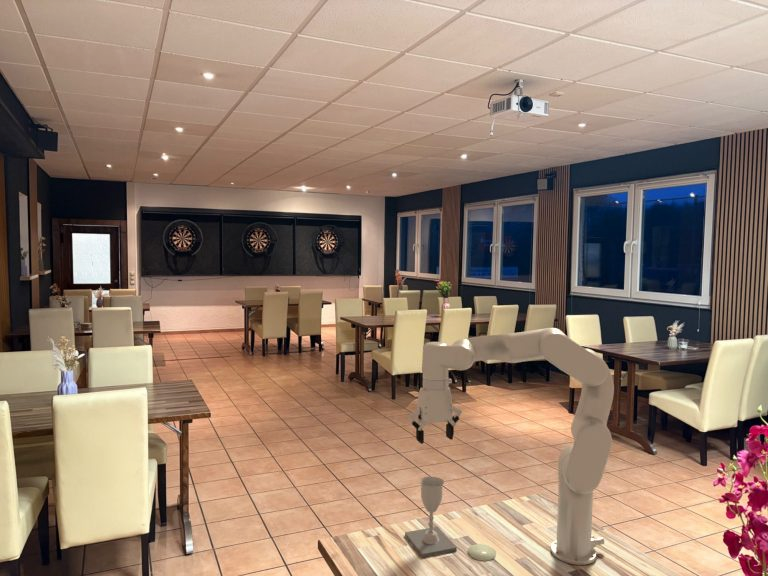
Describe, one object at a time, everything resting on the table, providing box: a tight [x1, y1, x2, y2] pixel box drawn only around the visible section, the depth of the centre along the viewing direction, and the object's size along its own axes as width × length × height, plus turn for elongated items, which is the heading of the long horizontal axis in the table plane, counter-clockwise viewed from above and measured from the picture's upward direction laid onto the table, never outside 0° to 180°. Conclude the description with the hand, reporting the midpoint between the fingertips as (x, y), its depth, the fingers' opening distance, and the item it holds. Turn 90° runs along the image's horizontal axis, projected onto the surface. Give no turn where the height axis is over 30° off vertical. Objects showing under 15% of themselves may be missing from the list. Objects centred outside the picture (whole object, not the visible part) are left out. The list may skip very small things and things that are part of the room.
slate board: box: [404, 526, 457, 558], centre depth 170 cm, size 11×13×1 cm
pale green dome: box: [467, 543, 497, 562], centre depth 165 cm, size 8×8×1 cm
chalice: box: [419, 476, 445, 544], centre depth 170 cm, size 7×7×18 cm
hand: (435, 440), depth 170 cm, fingers open, 9 cm apart
